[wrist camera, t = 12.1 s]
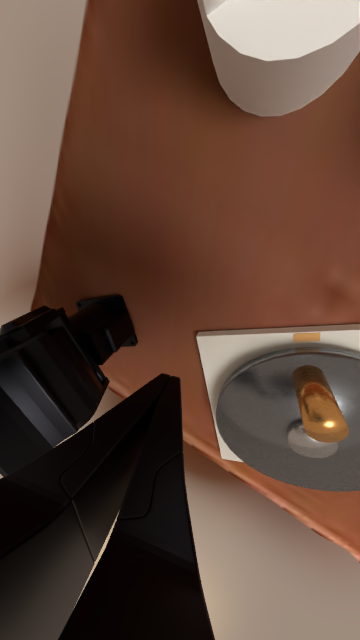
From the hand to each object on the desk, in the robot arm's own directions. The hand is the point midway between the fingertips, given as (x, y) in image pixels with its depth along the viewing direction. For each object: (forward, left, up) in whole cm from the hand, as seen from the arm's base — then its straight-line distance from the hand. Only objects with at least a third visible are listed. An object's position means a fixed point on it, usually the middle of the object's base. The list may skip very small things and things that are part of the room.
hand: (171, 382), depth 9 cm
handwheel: (+8, -14, -11) cm, 20 cm away
